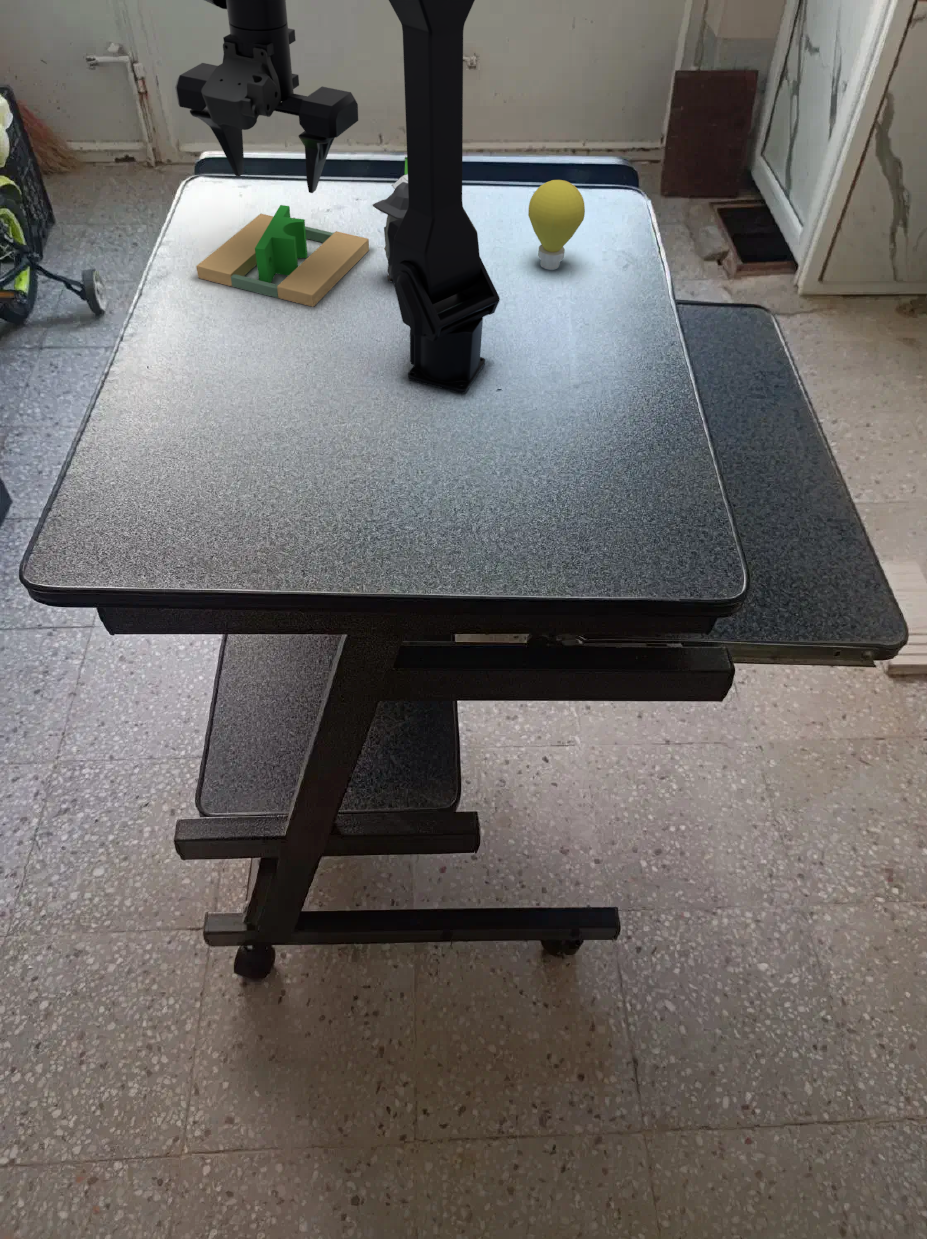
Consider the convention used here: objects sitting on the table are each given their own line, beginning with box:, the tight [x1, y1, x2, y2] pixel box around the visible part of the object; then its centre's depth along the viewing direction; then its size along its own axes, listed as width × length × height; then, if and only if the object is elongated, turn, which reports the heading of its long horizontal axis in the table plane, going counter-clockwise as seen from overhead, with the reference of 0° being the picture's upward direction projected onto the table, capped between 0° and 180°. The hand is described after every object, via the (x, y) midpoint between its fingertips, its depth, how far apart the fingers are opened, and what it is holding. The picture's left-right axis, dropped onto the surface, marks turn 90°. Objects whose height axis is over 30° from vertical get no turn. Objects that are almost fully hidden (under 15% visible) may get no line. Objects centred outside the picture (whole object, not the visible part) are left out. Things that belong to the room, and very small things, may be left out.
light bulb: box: [527, 179, 586, 271], centre depth 107 cm, size 7×7×10 cm
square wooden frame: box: [195, 213, 370, 308], centre depth 108 cm, size 15×15×2 cm
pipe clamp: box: [255, 204, 309, 283], centre depth 106 cm, size 11×4×5 cm, turn 173°
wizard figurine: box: [372, 182, 409, 283], centre depth 102 cm, size 8×6×12 cm
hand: (275, 183), depth 100 cm, fingers open, 9 cm apart
